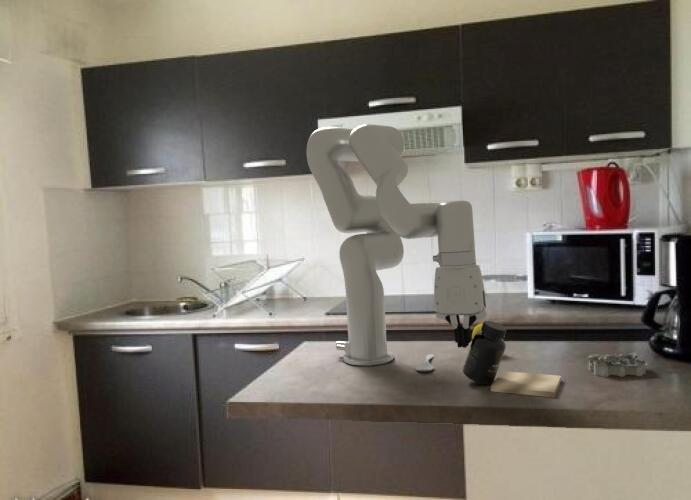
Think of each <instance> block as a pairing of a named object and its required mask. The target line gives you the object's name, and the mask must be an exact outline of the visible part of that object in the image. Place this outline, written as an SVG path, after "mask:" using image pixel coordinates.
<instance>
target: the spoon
mask: <svg viewBox="0 0 691 500" xmlns="http://www.w3.org/2000/svg"><path fill="white" fill-rule="evenodd" d="M434 357H435V354H432V353H430V354H427V355H426V357H425V358H426V359H425V360H423V361H422V363H420V364H419V365H417V366H416V367H415V370H416V371H417V372H418V371H419V372H422V373H427V372H432V371H433V370H434V369H435V368H434V365H433V364H432V363H430V360H431V359H433V358H434Z"/></svg>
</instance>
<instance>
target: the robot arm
mask: <svg viewBox="0 0 691 500" xmlns="http://www.w3.org/2000/svg"><path fill="white" fill-rule="evenodd" d="M404 150H405V139H404V136H403V135H402V133H401V132H400V131H399V130H398V129H397V128H395V127H394V126H391V125H381V124H371V123H369V124H362V125H359V126H357V127H356V128H355V127H354V128H352V127H351V128H349V127H337V126H327V127H325V126H324V127H321V128H318V129H316V130H314V131H313V132H312V133H311V134H310V136H309V138H308V140H307V145H306V159H307V160H306V161H307V165H308V167H309V171H310V172H311V174H312V176H313V178H314V180H315V182H316V184H317V185H318V187H319V189H320V192H321V195H322V197H323V200H324V203H325V205H326V207H327V211H328V213H329V217H330V218H331V221H332V223H333V226H334V227H335V229H336V230H337V231H338V232H340V233H344V234H354V235H351V236H349V237H347V238H346V239H344V241H342V243H341V245H340V247H339V253H338V254H339V261H340V264H341V269H342V272H343V273H342V274H343V277H344V288H345V300H346V301H345V302H346V316H347V317H346V319H347V337H348V340H347V341H342V340H341V341H340V340H338V341H336V344H335V348H336V349H335V350H337V351H344V352H345V354H344V355H343V357H342V358H343V361H344V363H346V364H349V365H353V366H360V367H361V366H363V367H364V366H378V365H384V364H387V363H389V362H391V361H393V359H394V353H393V352H392V351H391V350H388V347H387V326H386V308H385V307H386V306H385V292H384V285H383V283H382V281H381V280H382V279H381V278H380V277H379V275H378V272H377V271H382V270H388V269H393V268H395V267H397V266H398V265H400V263H402V261H403V258H404V245H403V244H404V243H403V241H402V238H403V239H406V240H413V239H414V240H415V239H422V238H425V239H426V238H434V237H435V238H436V237H437V245H438V248H437V249H438V252H437V254H436V255H432V261H433V262H434V263H438V267H435V272H434V281H433V282H434V283H433V284H434V285H433V287H434V288H433V291H434V292H433V304H434V305H433V306H434V312H435V317H436V318H437V319H439V320H442V321H443V320H444V321H447V322H448V324H450V325H451V327H452V328H453V330H454V331H453V332H454V342H455V343H457V348H467V347H468V346H469V345H470V344H471V343H472V334H471V326H472V325H474V323H476V321H480V320H485V319H486V318H487V317H488V313H487V310H486V309H487V308H486V307H487V300H486V299H487V298H486V292H485V285H484V284H485V283H484V279H483V274H482V271H481V267H480V265H479V264H477V261H476V260H477V258H476V242H475V230H474V228H475V226H474V214H473V206H472V203H471V202H470V201H468V200H454V201H453V200H452V201H443V202H440V203H439V202H428V203H426V202H425V203H424V202H420V203H419V202H418V203H411V202H409V201H408V199H407V198H406V197H405V195H403V193H402V191H401V190H400V188H399V185H400V184H401V183H402V182H403V181H404V180H405V178H406V177H407V176H408V175H407V174H408V172H409V165H408V164H407V162H406V160H404V158H403V157H402V154H403V153H404ZM339 162H355V163H356V162H357V163H360V164H361V165H362V167H363V168H364V170H365V172H366V173H367V174H368V175H369V176H370V178H371V179H372V181H373V182H374V183H375V185H376V190H375V195H370V194H369V195H368V194H365V195H363V194H362V195H361V194H359V192H358V191H357V189H356V187H355V184H354V181H353V180H352V177H351V175H349V173H348V172H347V171H346V170H345V169H344V168H343V167H342V166H341V165H340V164H339ZM365 232H366V233H365ZM355 233H360V234H355ZM460 316H463V320H462V321H461V317H460Z"/></svg>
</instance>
